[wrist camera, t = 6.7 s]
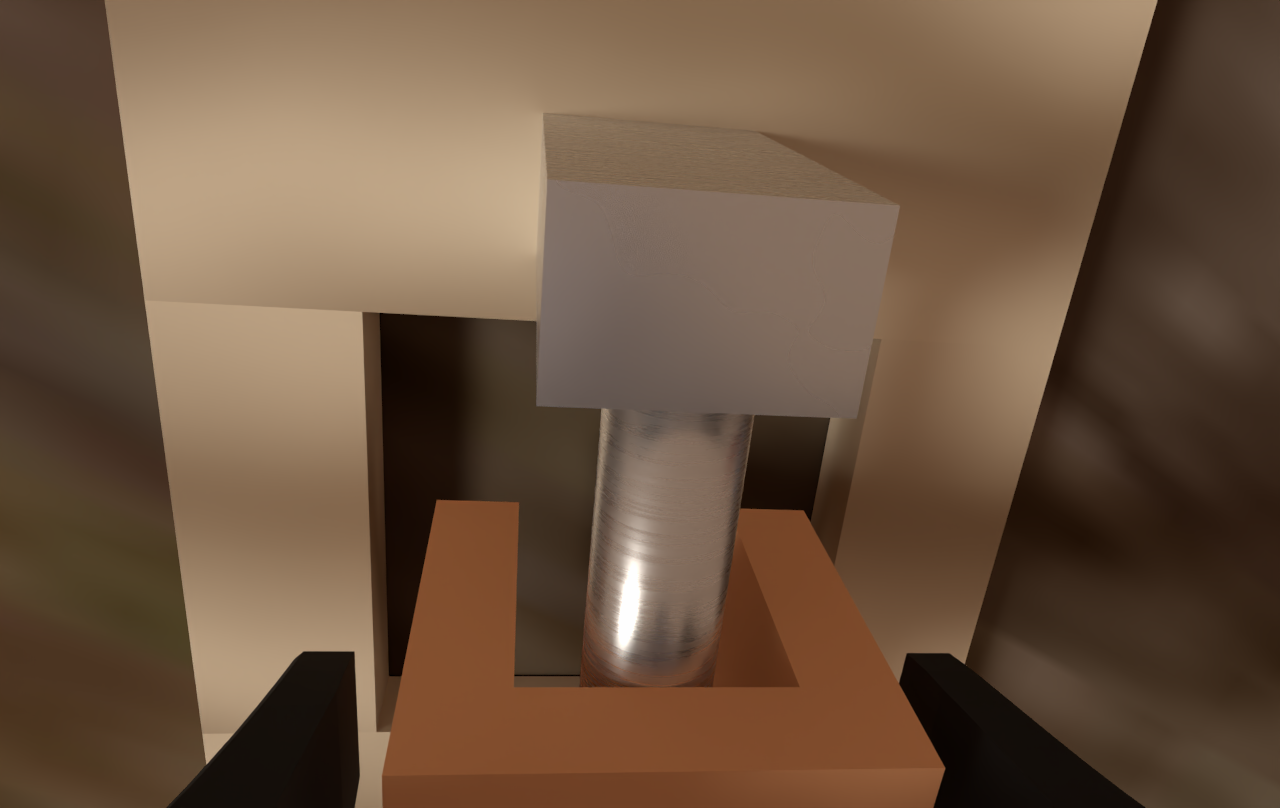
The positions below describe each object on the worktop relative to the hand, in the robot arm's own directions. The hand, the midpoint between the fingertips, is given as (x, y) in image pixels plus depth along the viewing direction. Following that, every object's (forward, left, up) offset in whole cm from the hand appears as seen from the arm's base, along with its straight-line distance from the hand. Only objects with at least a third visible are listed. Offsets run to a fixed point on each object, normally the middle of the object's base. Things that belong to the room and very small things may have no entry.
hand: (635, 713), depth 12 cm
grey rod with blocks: (0, 0, -4) cm, 4 cm away
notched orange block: (0, 0, -3) cm, 3 cm away
